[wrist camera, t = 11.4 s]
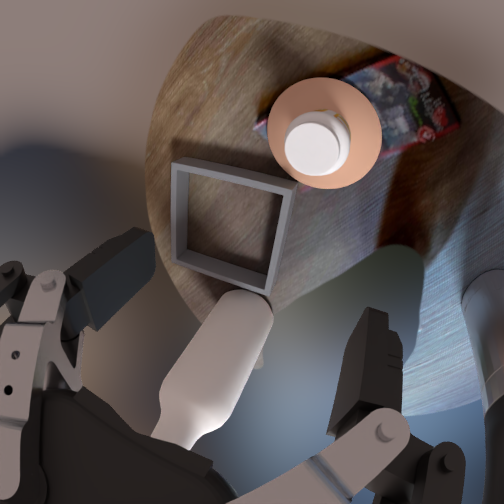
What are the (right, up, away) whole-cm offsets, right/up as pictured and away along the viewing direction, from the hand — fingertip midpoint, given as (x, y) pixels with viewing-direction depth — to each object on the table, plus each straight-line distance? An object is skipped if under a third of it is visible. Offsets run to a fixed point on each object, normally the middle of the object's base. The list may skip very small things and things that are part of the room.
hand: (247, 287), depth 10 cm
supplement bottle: (+8, +13, +17) cm, 23 cm away
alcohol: (0, -8, +34) cm, 35 cm away
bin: (-2, +5, +27) cm, 28 cm away
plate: (+8, +14, +18) cm, 24 cm away
